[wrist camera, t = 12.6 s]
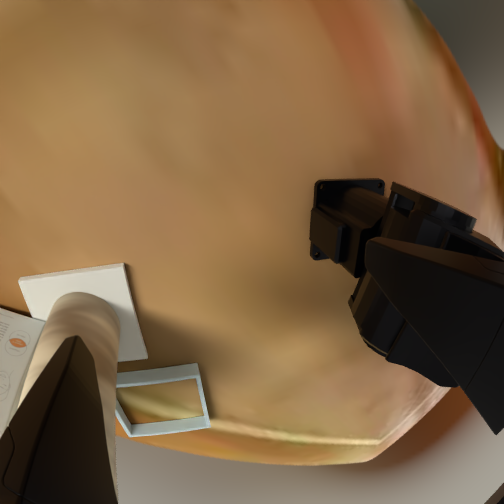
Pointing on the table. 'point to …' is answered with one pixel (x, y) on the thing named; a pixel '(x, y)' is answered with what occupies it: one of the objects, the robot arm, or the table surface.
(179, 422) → the light blue square frame
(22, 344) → the small box
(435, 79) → the table surface
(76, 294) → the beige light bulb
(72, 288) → the mat
